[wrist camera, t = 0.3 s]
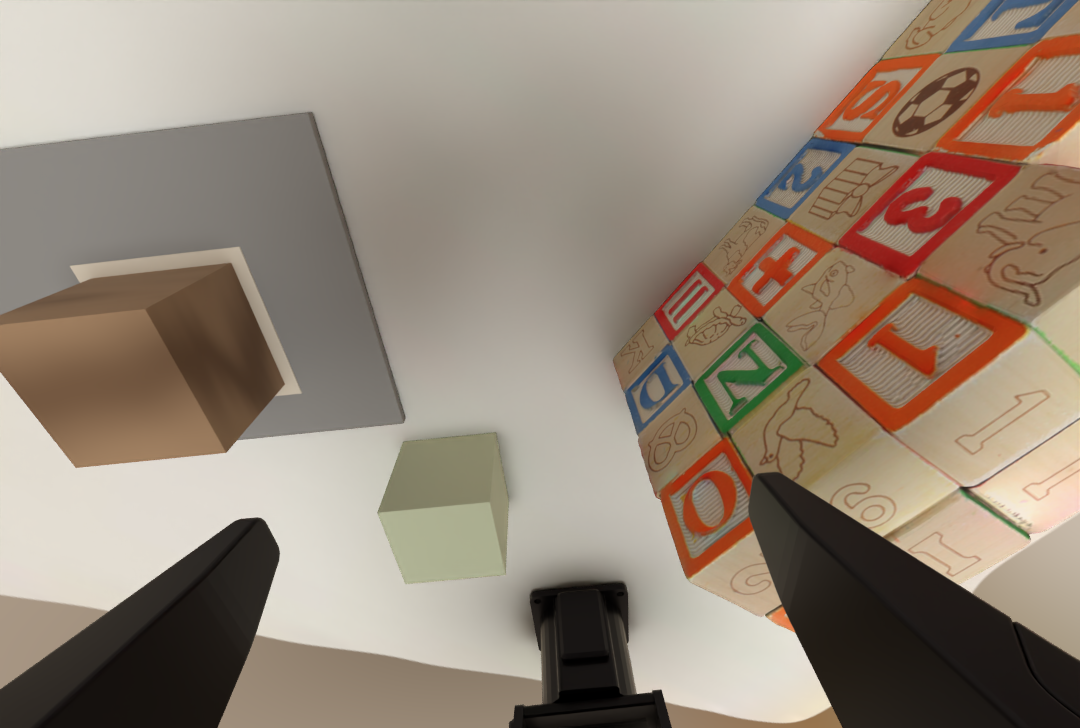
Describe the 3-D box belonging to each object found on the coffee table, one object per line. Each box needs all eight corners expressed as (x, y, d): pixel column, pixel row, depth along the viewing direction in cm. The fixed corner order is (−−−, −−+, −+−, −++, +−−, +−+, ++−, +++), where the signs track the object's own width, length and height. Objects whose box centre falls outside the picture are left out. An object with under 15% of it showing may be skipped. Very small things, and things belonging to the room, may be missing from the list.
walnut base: (285, 384, 22) (226, 452, 18) (163, 396, 22) (75, 467, 18) (231, 262, 19) (145, 309, 15) (91, 278, 19) (-34, 328, 15)
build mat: (405, 418, 24) (403, 424, 23) (106, 449, 24) (99, 454, 24) (312, 112, 17) (306, 112, 17) (-102, 162, 17) (-117, 163, 17)
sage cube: (508, 499, 27) (505, 575, 23) (424, 507, 27) (405, 584, 23) (495, 431, 25) (489, 502, 20) (403, 440, 25) (377, 512, 20)
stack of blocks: (1040, -134, 14) (2521, -817, 4) (1127, 10, 16) (2279, -170, 6) (609, 361, 23) (683, 590, 12) (700, 418, 25) (834, 661, 14)
